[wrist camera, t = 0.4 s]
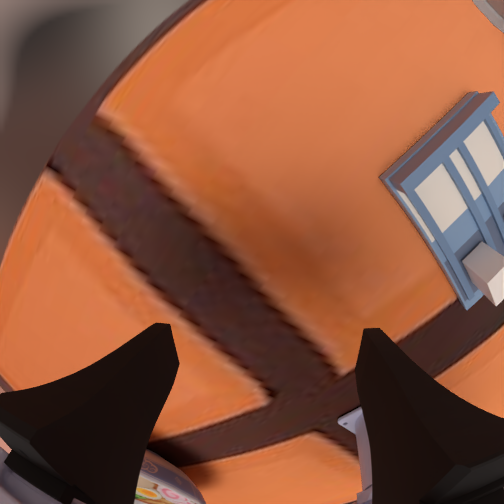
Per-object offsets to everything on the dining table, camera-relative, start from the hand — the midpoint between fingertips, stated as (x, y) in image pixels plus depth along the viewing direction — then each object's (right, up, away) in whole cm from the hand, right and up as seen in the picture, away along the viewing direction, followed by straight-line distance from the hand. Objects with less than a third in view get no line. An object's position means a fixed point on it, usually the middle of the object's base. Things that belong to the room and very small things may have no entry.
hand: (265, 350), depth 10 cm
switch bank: (+16, +7, +6) cm, 18 cm away
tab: (+16, +3, +6) cm, 17 cm away
